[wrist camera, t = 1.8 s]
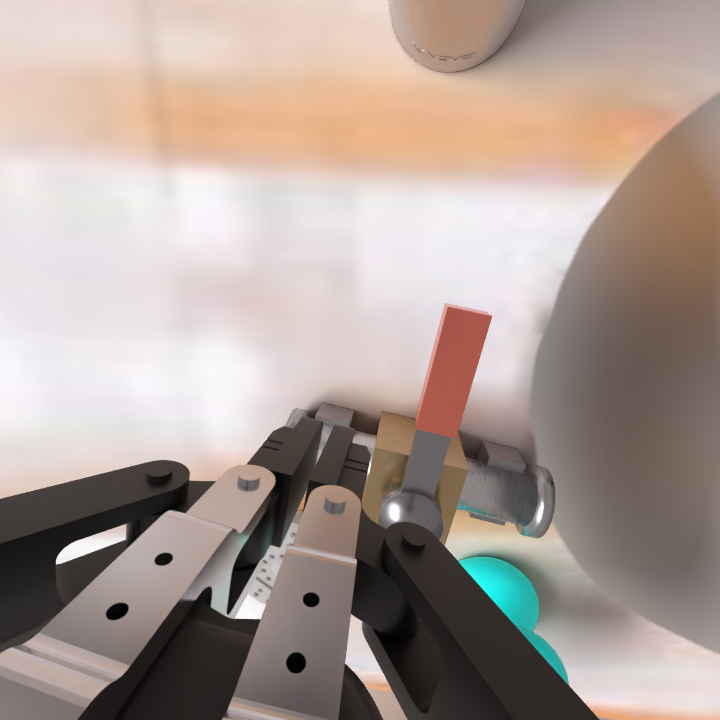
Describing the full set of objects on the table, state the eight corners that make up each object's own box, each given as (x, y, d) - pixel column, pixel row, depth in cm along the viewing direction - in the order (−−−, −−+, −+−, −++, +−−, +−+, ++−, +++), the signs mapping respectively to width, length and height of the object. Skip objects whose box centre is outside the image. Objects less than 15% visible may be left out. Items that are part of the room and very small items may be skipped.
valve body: (303, 392, 36) (275, 427, 28) (540, 448, 34) (575, 500, 27) (292, 458, 38) (263, 506, 30) (516, 513, 36) (543, 578, 29)
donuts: (426, 654, 29) (565, 644, 27) (422, 556, 39) (525, 543, 37) (452, 749, 31) (583, 745, 29) (442, 634, 41) (540, 625, 39)
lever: (432, 537, 29) (434, 559, 27) (375, 523, 29) (372, 543, 27) (499, 314, 24) (508, 320, 22) (430, 299, 24) (432, 303, 22)
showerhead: (358, 572, 31) (289, 638, 34) (367, 514, 38) (309, 573, 41) (266, 502, 31) (203, 575, 33) (293, 457, 38) (239, 520, 40)
